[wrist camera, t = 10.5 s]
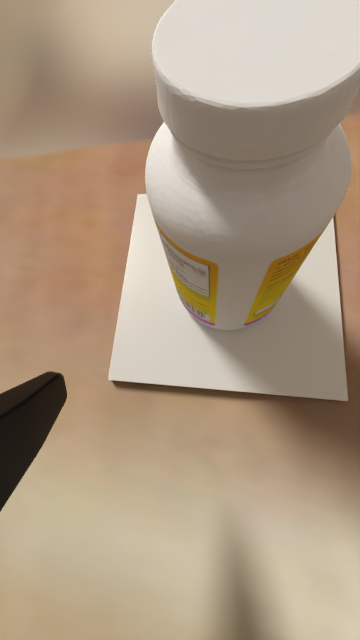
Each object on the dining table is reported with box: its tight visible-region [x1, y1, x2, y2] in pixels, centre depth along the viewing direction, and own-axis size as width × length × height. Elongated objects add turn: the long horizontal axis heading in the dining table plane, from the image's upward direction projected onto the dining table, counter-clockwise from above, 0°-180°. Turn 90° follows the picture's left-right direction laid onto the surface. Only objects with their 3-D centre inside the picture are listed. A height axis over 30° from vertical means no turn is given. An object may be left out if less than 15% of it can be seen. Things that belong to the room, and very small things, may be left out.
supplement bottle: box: [145, 0, 360, 330], centre depth 12 cm, size 7×7×13 cm
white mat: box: [108, 194, 348, 401], centre depth 18 cm, size 14×14×1 cm
